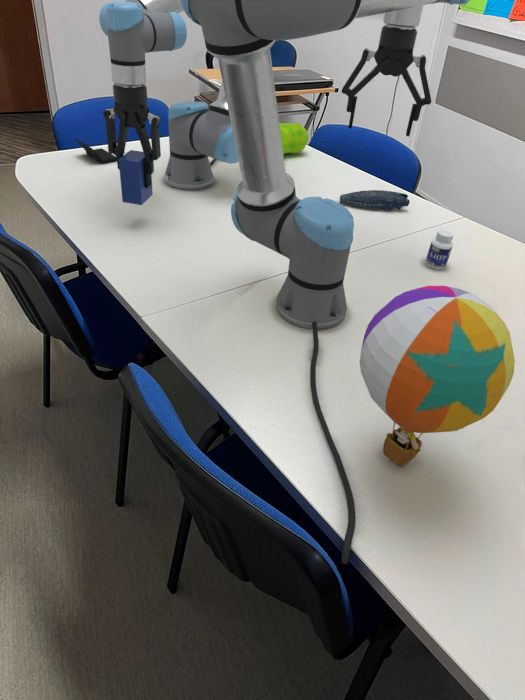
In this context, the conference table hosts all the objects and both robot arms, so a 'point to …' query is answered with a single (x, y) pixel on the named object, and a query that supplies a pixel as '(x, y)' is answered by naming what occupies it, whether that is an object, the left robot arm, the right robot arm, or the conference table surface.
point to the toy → (435, 364)
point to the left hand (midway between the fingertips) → (136, 184)
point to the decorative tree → (293, 137)
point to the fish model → (376, 199)
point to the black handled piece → (98, 153)
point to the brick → (133, 178)
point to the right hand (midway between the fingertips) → (378, 131)
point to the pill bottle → (440, 249)
